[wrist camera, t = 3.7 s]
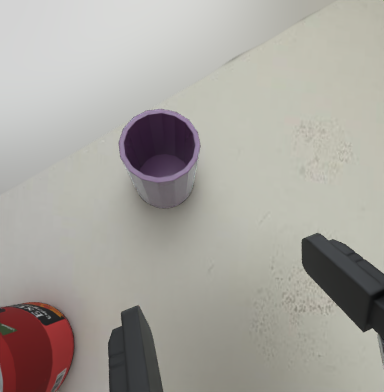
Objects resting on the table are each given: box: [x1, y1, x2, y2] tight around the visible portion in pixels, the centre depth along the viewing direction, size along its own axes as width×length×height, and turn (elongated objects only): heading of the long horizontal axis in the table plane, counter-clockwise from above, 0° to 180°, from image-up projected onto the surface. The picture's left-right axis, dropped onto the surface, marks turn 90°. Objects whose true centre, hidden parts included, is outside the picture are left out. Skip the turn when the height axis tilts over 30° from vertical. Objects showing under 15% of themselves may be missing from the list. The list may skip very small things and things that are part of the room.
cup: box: [119, 109, 200, 208], centre depth 24 cm, size 6×6×8 cm
